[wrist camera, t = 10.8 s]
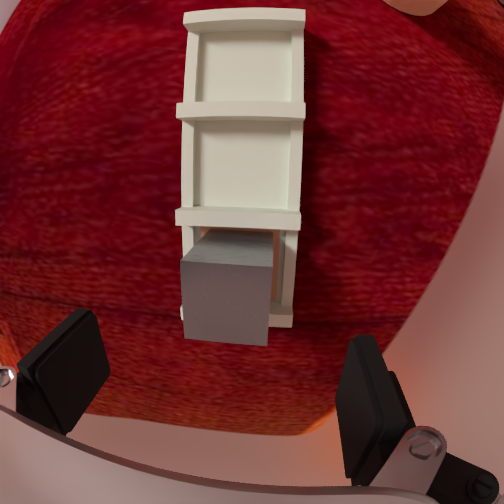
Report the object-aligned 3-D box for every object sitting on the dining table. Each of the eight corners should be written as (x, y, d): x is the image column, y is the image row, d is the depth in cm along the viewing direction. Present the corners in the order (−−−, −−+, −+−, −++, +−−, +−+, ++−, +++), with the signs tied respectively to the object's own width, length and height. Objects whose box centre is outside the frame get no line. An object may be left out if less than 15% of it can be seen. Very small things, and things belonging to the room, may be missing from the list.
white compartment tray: (301, 27, 17) (304, 9, 14) (290, 308, 24) (291, 327, 21) (195, 28, 18) (184, 12, 15) (191, 302, 24) (181, 319, 21)
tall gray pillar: (273, 232, 21) (272, 266, 14) (269, 292, 22) (266, 345, 16) (209, 229, 21) (180, 260, 15) (209, 287, 23) (184, 337, 16)
